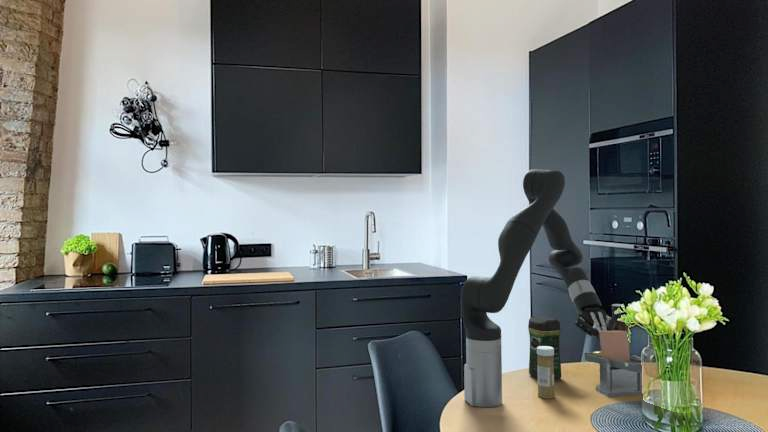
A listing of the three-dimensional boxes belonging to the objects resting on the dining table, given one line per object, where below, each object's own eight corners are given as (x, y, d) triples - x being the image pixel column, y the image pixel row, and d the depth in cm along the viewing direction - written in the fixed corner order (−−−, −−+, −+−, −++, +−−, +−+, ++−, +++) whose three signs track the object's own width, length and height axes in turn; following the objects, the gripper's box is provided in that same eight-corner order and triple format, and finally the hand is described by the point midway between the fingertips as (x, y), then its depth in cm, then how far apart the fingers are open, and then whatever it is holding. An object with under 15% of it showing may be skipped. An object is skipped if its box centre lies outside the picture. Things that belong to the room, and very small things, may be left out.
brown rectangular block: (613, 361, 156) (610, 332, 157) (601, 359, 162) (599, 331, 163) (630, 360, 157) (627, 331, 158) (617, 358, 162) (614, 330, 164)
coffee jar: (566, 380, 169) (565, 318, 169) (544, 383, 166) (543, 320, 166) (545, 372, 178) (544, 313, 178) (524, 374, 175) (523, 315, 175)
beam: (636, 373, 143) (635, 364, 143) (583, 361, 168) (582, 352, 169) (665, 371, 144) (664, 362, 145) (608, 359, 170) (608, 351, 170)
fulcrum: (607, 396, 152) (607, 361, 152) (595, 390, 158) (595, 356, 158) (647, 394, 155) (647, 359, 155) (634, 387, 160) (634, 354, 160)
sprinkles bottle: (558, 397, 153) (557, 347, 153) (546, 400, 150) (546, 349, 151) (545, 392, 157) (544, 344, 157) (533, 395, 154) (533, 346, 154)
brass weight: (598, 358, 164) (598, 353, 164) (590, 356, 168) (590, 351, 168) (612, 357, 165) (611, 352, 165) (604, 356, 169) (603, 350, 169)
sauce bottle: (611, 361, 189) (611, 302, 189) (631, 364, 186) (630, 304, 186) (606, 365, 184) (605, 305, 184) (627, 368, 180) (626, 306, 180)
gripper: (568, 291, 171) (591, 340, 159) (608, 289, 174) (633, 338, 162) (560, 306, 177) (581, 354, 165) (599, 304, 179) (622, 352, 167)
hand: (607, 346), depth 163 cm, fingers closed
